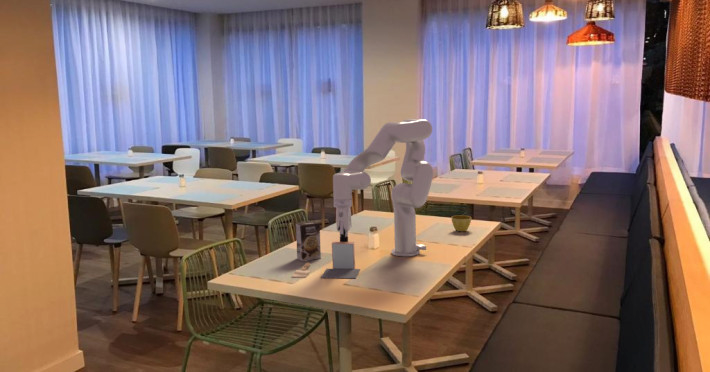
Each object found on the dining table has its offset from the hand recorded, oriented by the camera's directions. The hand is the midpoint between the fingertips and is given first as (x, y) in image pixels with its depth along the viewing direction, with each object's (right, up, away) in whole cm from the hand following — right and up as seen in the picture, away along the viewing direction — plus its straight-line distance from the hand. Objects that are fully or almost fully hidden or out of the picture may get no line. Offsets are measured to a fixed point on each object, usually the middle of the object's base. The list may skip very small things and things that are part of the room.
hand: (344, 245), depth 250 cm
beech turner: (-17, -10, -5) cm, 20 cm away
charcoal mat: (-1, -10, -9) cm, 14 cm away
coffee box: (-16, -7, +15) cm, 23 cm away
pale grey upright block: (0, -9, -1) cm, 9 cm away
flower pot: (+59, +2, +58) cm, 83 cm away
